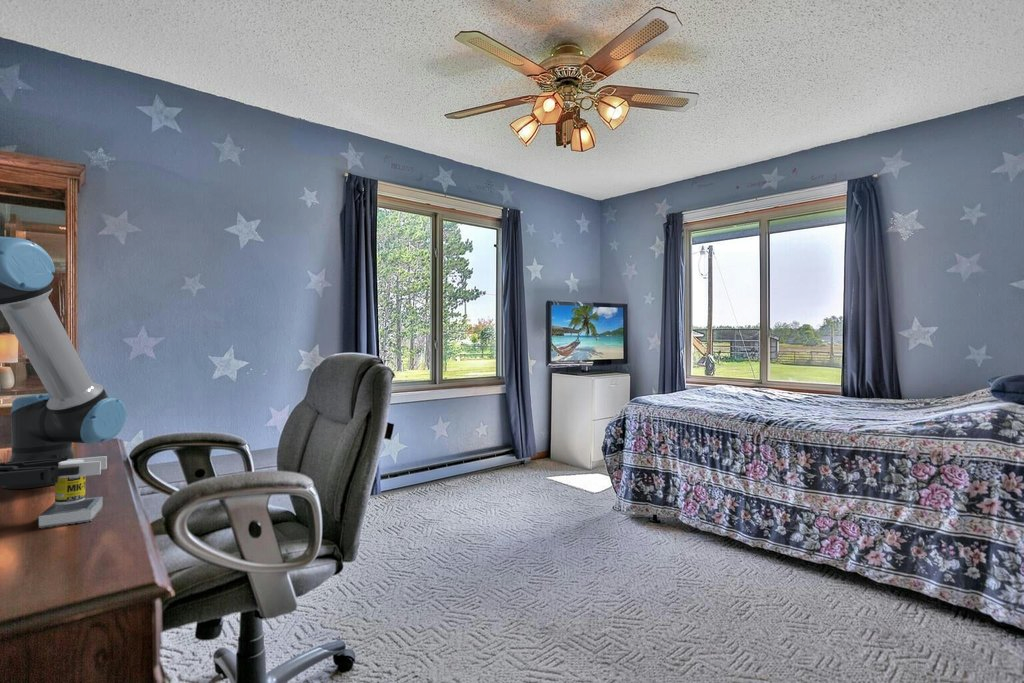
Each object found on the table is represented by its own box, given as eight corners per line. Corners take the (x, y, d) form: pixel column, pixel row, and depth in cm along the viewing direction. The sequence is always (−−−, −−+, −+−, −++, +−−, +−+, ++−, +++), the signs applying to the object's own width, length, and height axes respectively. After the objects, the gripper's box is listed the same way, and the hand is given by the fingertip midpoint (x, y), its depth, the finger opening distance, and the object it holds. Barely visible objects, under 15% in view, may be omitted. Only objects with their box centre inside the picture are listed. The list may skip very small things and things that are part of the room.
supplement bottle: (67, 506, 101) (67, 464, 101) (48, 504, 102) (49, 463, 102) (91, 499, 106) (91, 459, 106) (73, 497, 107) (73, 458, 107)
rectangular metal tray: (55, 513, 107) (55, 502, 107) (102, 507, 111) (102, 496, 111) (38, 528, 98) (38, 516, 98) (90, 521, 102) (90, 509, 102)
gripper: (-30, 487, 103) (112, 473, 115) (-78, 511, 88) (92, 493, 99) (-30, 450, 103) (112, 440, 115) (-77, 468, 88) (93, 455, 99)
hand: (103, 465), depth 107 cm, fingers closed on supplement bottle, 5 cm apart
